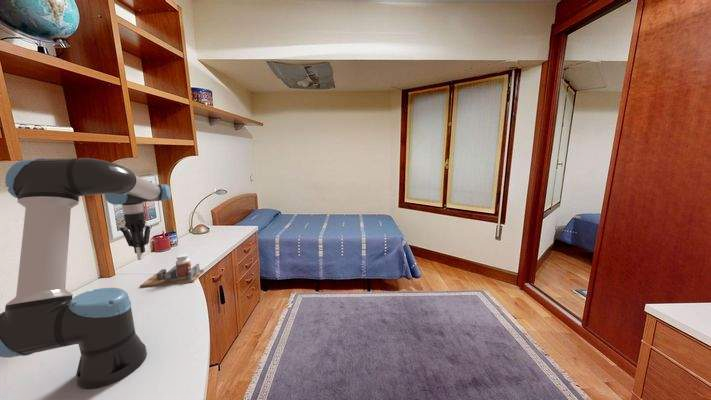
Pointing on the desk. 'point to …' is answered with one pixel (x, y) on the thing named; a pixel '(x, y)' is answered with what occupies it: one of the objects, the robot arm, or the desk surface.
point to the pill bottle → (183, 265)
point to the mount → (172, 277)
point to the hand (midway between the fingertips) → (141, 259)
